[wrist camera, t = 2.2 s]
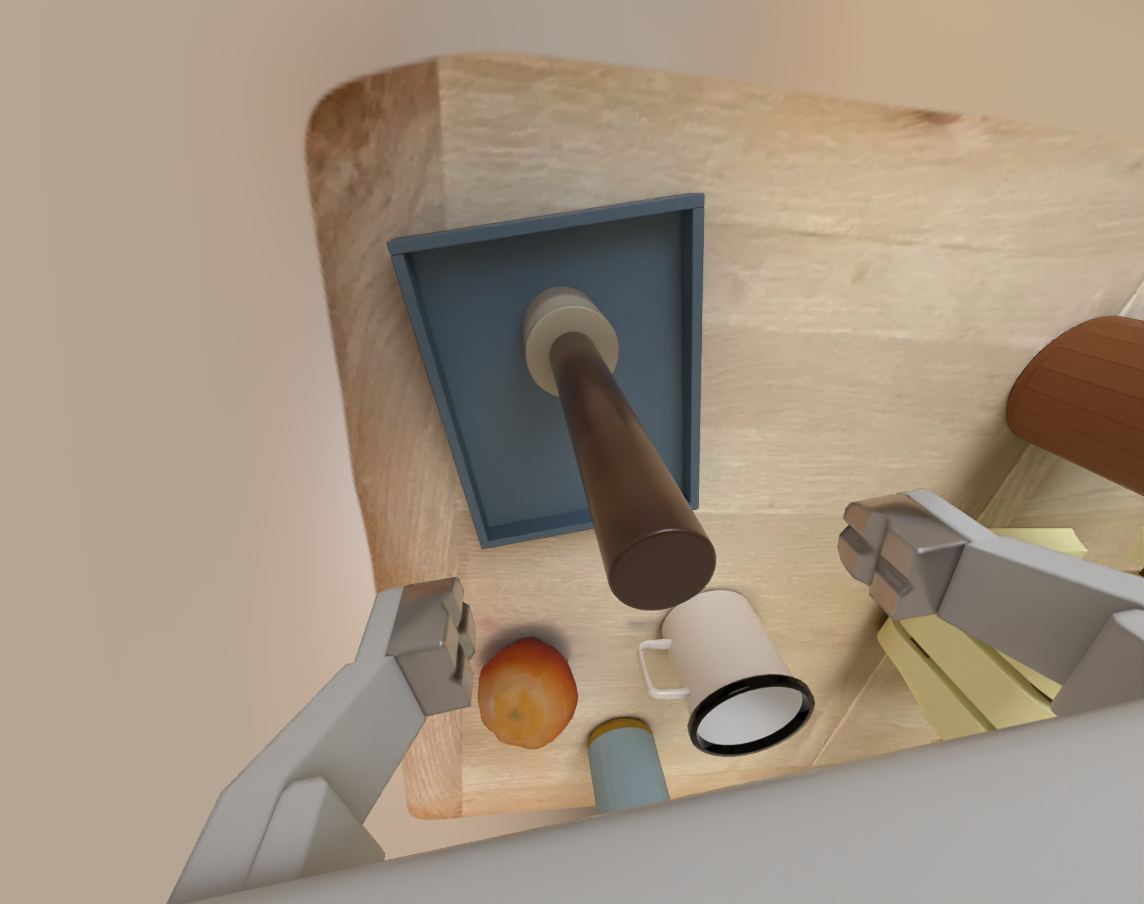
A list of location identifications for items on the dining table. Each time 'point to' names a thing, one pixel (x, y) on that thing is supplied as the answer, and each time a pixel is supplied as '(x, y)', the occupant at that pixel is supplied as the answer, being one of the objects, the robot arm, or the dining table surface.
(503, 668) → the fruit
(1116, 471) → the terracotta utensil crock
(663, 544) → the bottle brush
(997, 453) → the dining table surface
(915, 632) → the slatted curved stool
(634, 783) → the bottle
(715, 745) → the mug
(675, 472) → the tray
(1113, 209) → the dining table surface
